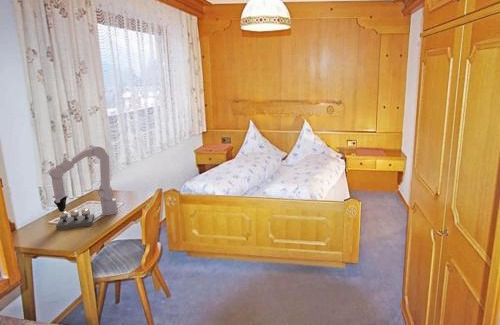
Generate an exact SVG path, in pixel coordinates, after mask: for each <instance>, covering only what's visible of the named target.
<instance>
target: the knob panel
mask: <svg viewBox="0 0 500 325" xmlns="http://www.w3.org/2000/svg"><path fill="white" fill-rule="evenodd" d="M94 221H95V213H90V215H88V219H85V216H82V215H79V216H77V220H76V221H74V217H71V216H68V217H67V218H66V222H63V219H60V218H59V220H58V222H57V223H56V225H55V229H56V231H61V230H68V229H75V228H76V229H77V228H82V227H83V228H84V227H91V226H93V225H94Z"/></svg>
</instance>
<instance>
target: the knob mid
mask: <svg viewBox="0 0 500 325" xmlns="http://www.w3.org/2000/svg"><path fill="white" fill-rule="evenodd" d="M69 213H70V214H69V215H70V217H74V221H76V220H77V216H80V212H79V209H73V210H70V211H69Z"/></svg>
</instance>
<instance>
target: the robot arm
mask: <svg viewBox="0 0 500 325" xmlns="http://www.w3.org/2000/svg"><path fill="white" fill-rule="evenodd" d="M89 157H96V158H97V159H98V160H99V166H100V169H99V170H100V172H99V173H100V175H99V176H100V185H99V189H98V192H97V196H98V197H99V198H100V207H101V213H100V214H101V217H102V215H103V216H109V215H117V214H118V211H119V207H118V201H117V198H114V197H115V196H114V192H113V188H112V187H111V176H110V156H109V154H108V153H107V151H106V149H105V148H103V147H102V146H101V145H96V144H94V143H93V144H89V146H87V147H85V148H84V149H83V150H82V151H80V152H79V153H77V154H76V155H75V156H73V157H72V158H71V159H68V158H67V159H63V160H62V162H60V164H56V166H55V167H54V166H53V167H52V168H49V169H50V170H49V171H48V174H49V176H50V177H51V185H52V190H53V194H54V195H52V196H51V197H52V198H54V199H55V200H54V201H53V203H54V205H56V206H57V209H58V211H59V213H60V212H64V211H65V210H66V205H67V204H66V203H67V199H68V195H67V194H66V190H65V185H64V184H65V183H64V178H63V176H64V175H65V173H68V171H70V170H71V169H73V168H75V164H77V163H78V162H80V161H82V160H84V159H85V158H89Z"/></svg>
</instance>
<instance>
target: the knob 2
mask: <svg viewBox="0 0 500 325" xmlns="http://www.w3.org/2000/svg"><path fill="white" fill-rule="evenodd" d="M80 211H81V216H85V219H88V215H90V214H91V212H90V208H89V207H88V208H86V207H85V208H83V209H81V210H80Z"/></svg>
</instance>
